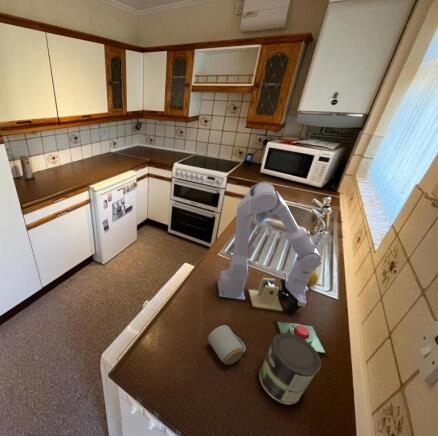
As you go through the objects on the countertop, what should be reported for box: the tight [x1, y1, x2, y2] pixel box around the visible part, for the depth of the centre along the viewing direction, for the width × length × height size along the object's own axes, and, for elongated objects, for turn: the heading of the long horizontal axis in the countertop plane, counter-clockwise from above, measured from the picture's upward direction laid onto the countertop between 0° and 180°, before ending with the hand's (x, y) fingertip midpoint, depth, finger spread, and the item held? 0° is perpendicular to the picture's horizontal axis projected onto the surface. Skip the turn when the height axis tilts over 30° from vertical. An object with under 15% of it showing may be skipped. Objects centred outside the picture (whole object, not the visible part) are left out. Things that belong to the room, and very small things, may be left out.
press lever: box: [263, 281, 294, 302], centre depth 86 cm, size 12×3×3 cm, turn 81°
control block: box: [275, 320, 326, 355], centre depth 75 cm, size 11×9×3 cm
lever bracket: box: [248, 277, 283, 312], centre depth 87 cm, size 10×8×9 cm
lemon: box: [307, 270, 319, 287], centre depth 95 cm, size 6×6×8 cm
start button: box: [295, 324, 309, 339], centre depth 74 cm, size 4×4×2 cm
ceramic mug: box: [207, 324, 247, 366], centre depth 70 cm, size 11×8×8 cm
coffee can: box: [258, 332, 322, 405], centre depth 61 cm, size 10×10×14 cm
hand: (287, 304), depth 88 cm, fingers open, 6 cm apart
